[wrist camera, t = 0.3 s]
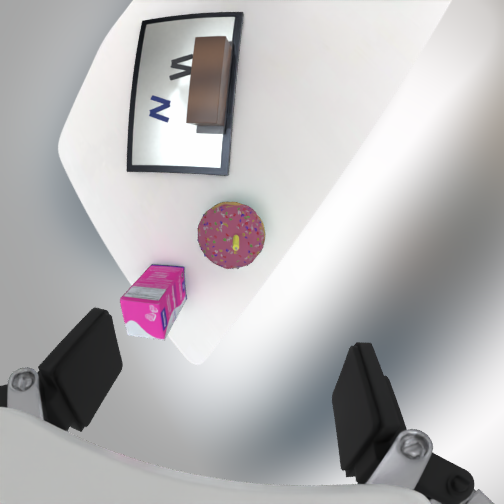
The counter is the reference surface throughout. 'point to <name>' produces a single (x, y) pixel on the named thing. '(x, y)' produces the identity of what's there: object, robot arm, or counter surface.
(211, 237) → the cupcake
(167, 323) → the supplement box
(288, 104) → the counter surface
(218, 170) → the whiteboard
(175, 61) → the scribble
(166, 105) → the scribble
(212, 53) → the eraser
